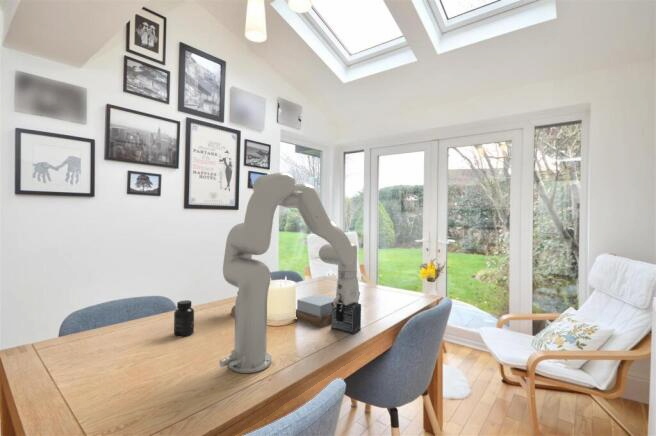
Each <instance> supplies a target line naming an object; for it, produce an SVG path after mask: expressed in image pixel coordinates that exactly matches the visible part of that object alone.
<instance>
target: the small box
mask: <svg viewBox="0 0 656 436" xmlns="http://www.w3.org/2000/svg"><path fill="white" fill-rule="evenodd" d="M339 306H340V307H341V305H339ZM342 311H344V320H343V321H339V320H336V310H335V308H334V304H333V303H332V318H331V319H332V320H331V325H330V328H331V329H332V330H334V331H339V332H342V333H343V332H344V333H346V334H352V335H355V334H356V333H359V332H360V331H361V330H362V329H361V328H362V325H361V321H362V303H359V302H358V303H353V304H350V305H348V306H345V305H344V308H343V310H342Z"/></svg>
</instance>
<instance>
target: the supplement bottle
mask: <svg viewBox="0 0 656 436" xmlns="http://www.w3.org/2000/svg"><path fill="white" fill-rule="evenodd" d="M176 305H177V306H176V308H177V309H175V311H174V313H173V334H174V336H175V337H177V338H183V337H189V336H192V335H193V334H194V331H195V309H194V308H193V307H192V300H181V301H180V300H179V301H177V304H176Z"/></svg>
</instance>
